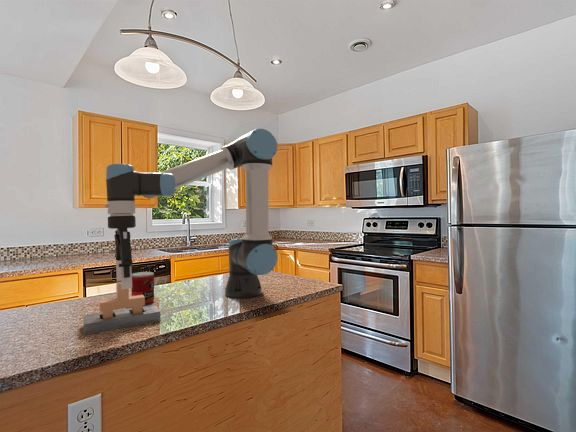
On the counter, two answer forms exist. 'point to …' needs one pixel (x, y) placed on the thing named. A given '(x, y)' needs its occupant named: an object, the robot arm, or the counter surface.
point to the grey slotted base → (120, 319)
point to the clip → (121, 302)
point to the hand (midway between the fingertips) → (124, 284)
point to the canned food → (143, 285)
